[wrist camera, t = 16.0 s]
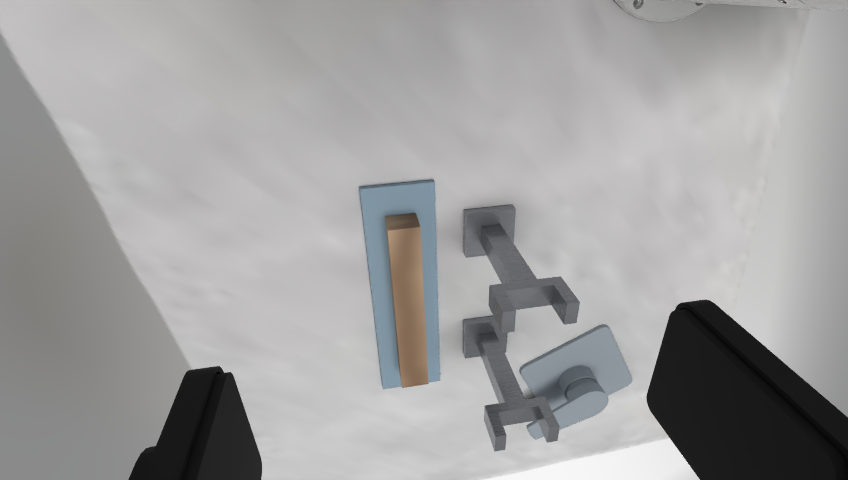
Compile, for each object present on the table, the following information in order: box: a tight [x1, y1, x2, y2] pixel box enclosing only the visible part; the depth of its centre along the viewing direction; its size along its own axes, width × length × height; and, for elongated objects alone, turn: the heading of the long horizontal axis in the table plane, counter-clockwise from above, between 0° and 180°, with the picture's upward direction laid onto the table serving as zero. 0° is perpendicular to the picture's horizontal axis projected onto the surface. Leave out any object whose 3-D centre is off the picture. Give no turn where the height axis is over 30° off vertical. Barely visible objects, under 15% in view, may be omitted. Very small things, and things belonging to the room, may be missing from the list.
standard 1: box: [463, 316, 560, 451], centre depth 48 cm, size 6×5×14 cm
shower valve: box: [520, 325, 632, 439], centre depth 58 cm, size 12×6×15 cm
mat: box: [360, 180, 440, 389], centre depth 49 cm, size 7×26×1 cm, turn 3°
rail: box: [385, 213, 428, 388], centre depth 48 cm, size 3×20×3 cm, turn 3°
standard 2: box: [464, 205, 580, 333], centre depth 41 cm, size 6×5×14 cm
